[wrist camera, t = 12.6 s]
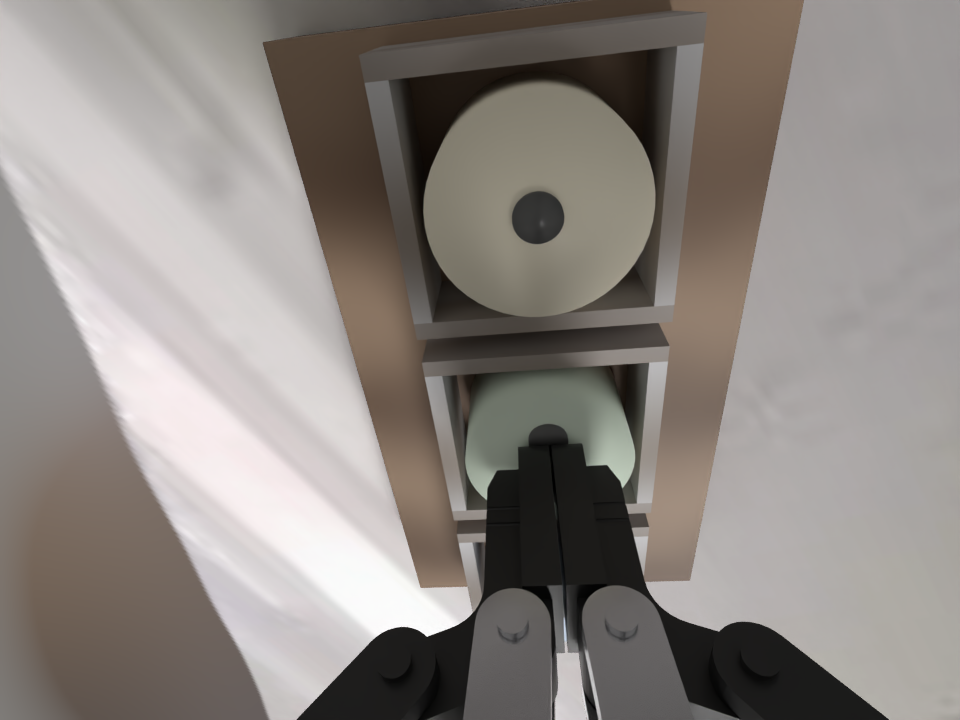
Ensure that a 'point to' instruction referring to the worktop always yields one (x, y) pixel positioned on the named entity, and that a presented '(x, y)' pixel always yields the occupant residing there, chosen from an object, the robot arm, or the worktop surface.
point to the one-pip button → (538, 196)
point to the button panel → (568, 336)
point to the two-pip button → (546, 419)
